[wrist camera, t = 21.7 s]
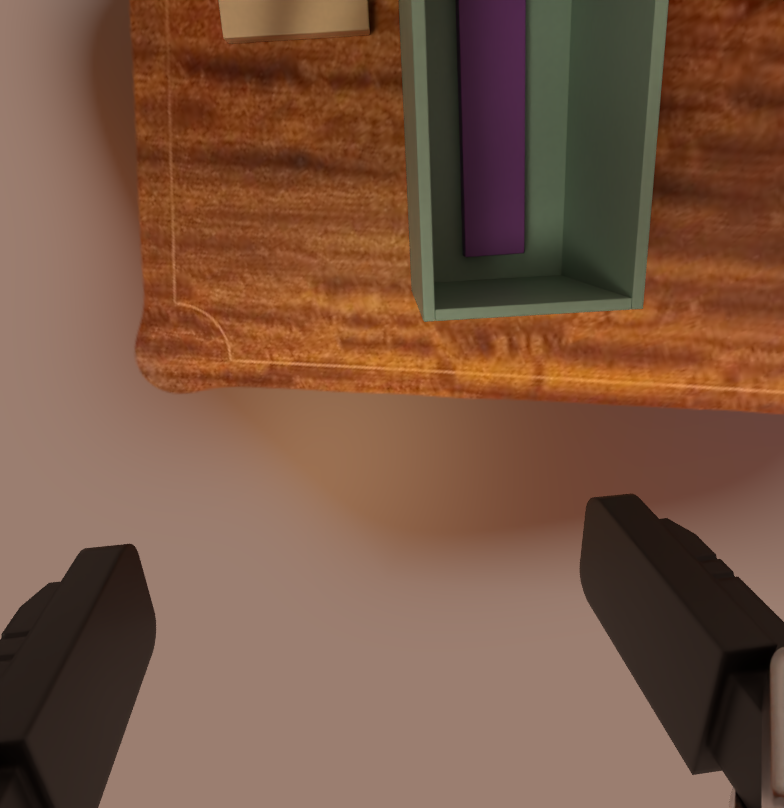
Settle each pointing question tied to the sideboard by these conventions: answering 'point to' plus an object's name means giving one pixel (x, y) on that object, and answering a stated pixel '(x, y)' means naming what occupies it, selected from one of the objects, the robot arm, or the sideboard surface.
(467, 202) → the chocolate bar
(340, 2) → the stand
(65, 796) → the robot arm
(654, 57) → the trash bin
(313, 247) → the sideboard surface
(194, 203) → the sideboard surface
